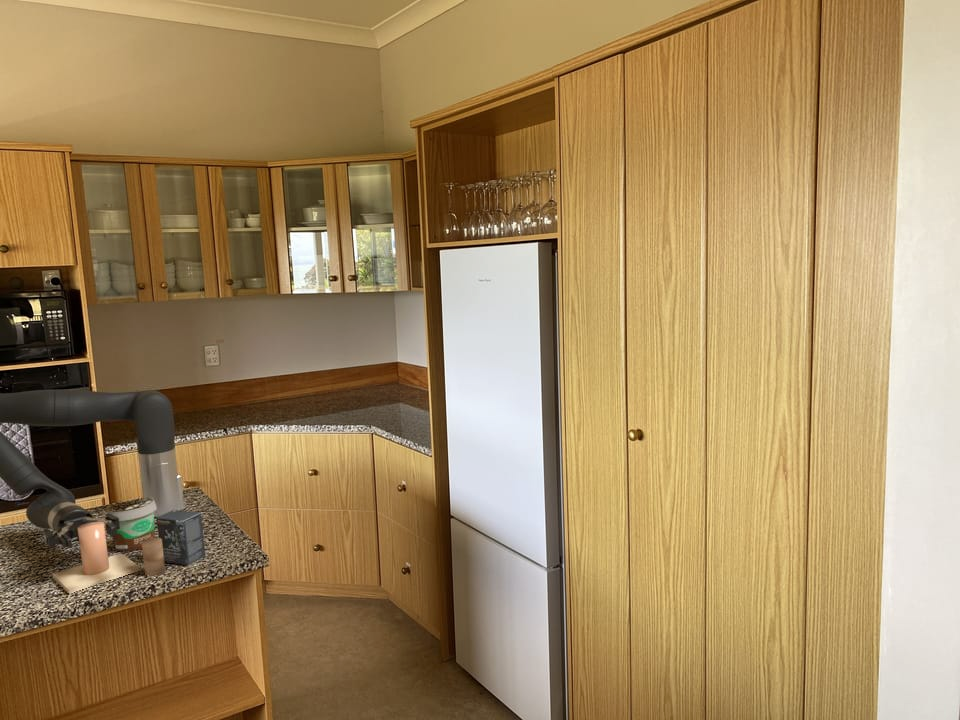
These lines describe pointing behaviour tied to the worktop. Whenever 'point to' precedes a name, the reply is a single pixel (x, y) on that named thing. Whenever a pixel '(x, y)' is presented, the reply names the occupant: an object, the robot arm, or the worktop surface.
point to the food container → (135, 525)
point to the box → (181, 536)
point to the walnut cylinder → (153, 556)
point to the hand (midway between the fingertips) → (92, 537)
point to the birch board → (78, 580)
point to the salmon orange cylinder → (93, 548)
